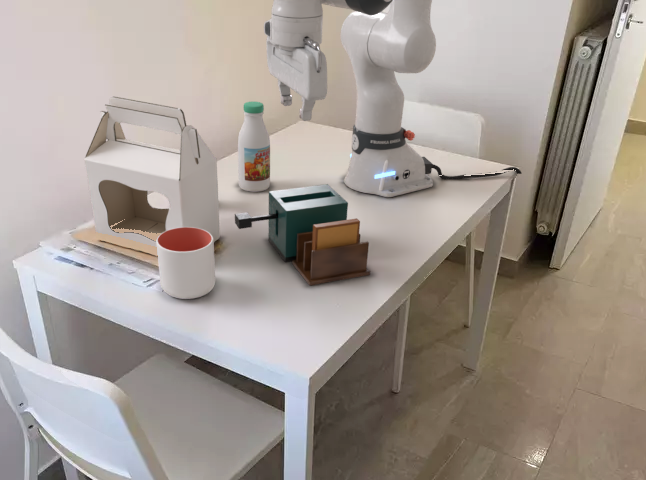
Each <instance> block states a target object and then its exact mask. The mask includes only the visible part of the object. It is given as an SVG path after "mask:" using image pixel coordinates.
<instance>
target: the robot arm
mask: <svg viewBox="0 0 646 480" xmlns="http://www.w3.org/2000/svg"><path fill="white" fill-rule="evenodd" d="M432 3H433V0H273V2H272V7H271V18H270V19H268V20H265V21H264V23H263V34H264V35H265V36H266V40H265V41H266V42H265V45H266V48H265V49H266V60H267V69H268V72H269V74H270V75H271V76H273V77H274V78H275V79H276V80H277V86H278V91H279V94H280V104H281V105H283V106H284V107H289V106H292V104H293V95H292V94H291V90H292V91H294V92H295V93H296V94H297V95H299V96H300V97H301V102H302V103H301V108H299V118H300V119H301V120H302V121H303V122H309V121H311V120H312V117H313V109H314V107H315V104H316V102H317V101H323V100H325V99H326V97H327V95H328V64H327V57H326V54H325V53H324V52H323V51H322V50H321V46H320V45H321V44H322V42H323V25H324V24H323V23H324V10H323V5H325V6H330V7H334V8H339V9H346V10H352V11H351V12H350V13H349V14H348V15H347V16H346V18H345V19H344V21H343V22H342V25H341V29H340V43H341V45H342V48H343V49H344V51H345V52H346V54H347V56H348V58H349V61H350V64H351V67H352V68H351V69H352V72H353V77H354V82H355V88H356V104H355V105H356V106H355V121H354V124H353V125H352V135H351V153H350V154H349V157H350V160H349V164H348V168H347V171H346V174H345V177H344V179H343V183H344V184H345V185H346V187H348V188H350V189H352V190H354V191H356V192H360V193H364V194H372V195H376V196H381V197H384V198H392V197H397V196H400V195H405V194H409V193H412V192H417V191H422V190H425V189H429V188H432V187H433V186H434V180H433V178H432V177H431V176H430V175H431V174H432V171H433V169H434V170H436V172H437V175H438V177H439V178H440V179H442V180H451V181H452V180H453V181H455V180H463V179H476V178H478V179H479V178H489V177H496V176H500V175H502V174H506V172H504V173H495V174H485V175H471V176H464V175H465V174H459V175H453V176H452V175H451V176H450V175H445V174H443V172H442V168H441V167H440V166H438V165H436V164H433V162H431V161H430V160H429V159H428V158H427V157H426V156H421V155H420V153H418V152H417V151H416V150H415V149H414V148H413V147H412V146H411V145H409V144H408V143H407V141H406V139H407V140H408V141H409V142H411V141H413V140H414V139H415V137H416V134H415V133H414V131H411V130H410V129H408V130H407V129H406V128H404V127H402V123H403V114H404V105H405V94H404V91H403V89H402V88H401V86H400V84H399V83H398V80H397V77H396V74H395V73H398V74H419V73H421V72H423V71H425V70H426V69H427V68H428V67H429V65H430V64H431V63H432V61H433V59H434V57H435V55H436V49H437V39H436V35H435V33H434V31H433V28H432V23H431V9H432ZM388 6H389V9H388V12H385V11H384V10H386V9H387V7H388ZM513 169H514V171H513V172H515V173H516V174H517V175H521V174H522V171H521V170H520V169H519V168H518V167H516V166H509V167H506V168H503V169H502V170H513ZM515 170H516V171H515ZM442 174H443V175H442ZM439 175H442V176H439Z"/></svg>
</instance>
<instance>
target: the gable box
mask: <svg viewBox="0 0 646 480" xmlns="http://www.w3.org/2000/svg"><path fill="white" fill-rule="evenodd" d="M104 106H105V109H106V110H107V111H105V110H101V111H99V112H100V113H99V114H100V120H99V123H98V125H97V128H96V130H95V133H94V135H93V138H92V140H91V142H90V145H89V146H88V150H87V152H86V154H85V157H84V159H83V160H84V168H85V173H86V179H87V185H88V190H89V192H88V193H89V197H90V198H89V199H90V204H91V211H92V216H93V217H92V218H93V223H94V230H95V233H96V232H98V233H102V234H108V235H112V236H116V237H121V238H125V239H129V240H133V241H136V242H140V243H143V244H147V245H151V246H155V247H157V246H156V241H154V240H152V239H150V238H148V237H146V236H144V235H142V234H139V233H134V232H124V233H119V232H115V231H114V230H112V229H116V228H117V229H118V228H119V229H121V228H122V229H123V228H124V229H129V230H130V229H132V230H134V229H135V230H141V231H143V232H145V231H146V232H149V233H151V232H152V233H156V234H157V233H163V232H165V231H167V230H170V229H174V228H179V227H194V228H200V229H203V230H206V231H207V232H209V233H210V234H211V235H212V236H213V242H214V243H215V242H217V240H220V237H221V230H220V229H221V228H220V227H221V226H220V207H219V206H220V205H219V204H220V203H219V186H218V185H219V184H218V181H219V180H218V161H217V159H218V158H217V157H216V156H215V154H214V152H213V151H212V150H211V149H210V147H209V146H208V145H207V143H206V142H205V140H204V139H203V138H202V136H201V135H200V133H199V132H198V130H197V128H195V127H194V126H193V125H192V124H187V121H186V117H185V113H184V111H183V109H182V108H179V107H176V106H175V107H174V106H168V105H163V104H157V103H152V102H146V101H142V100H141V101H140V100H135V99H132V98H131V99H130V98H125V97H120V96H119V97H118V96H112V97H110V98H109V99H108V104H104ZM121 124H126V125H131V126H135V127H141V128H142V127H143V128H146V129H152V130H157V131H162V132H167V133H173V134H175V135H180V149H177V148H173V147H168V146H167V147H166V146H162V145H158V144H152V143H147V142H142V141H138V140H132V139H128V138H126V136H125V133H124V131H123V127H122V125H121ZM148 192H154V193H157V194H160V195H161V196H164V197H165V198H166V199H167V201H168V203H169V206H168V207H169V208H157V207H154V206H152V205H151V204H150V203H149V200H148ZM124 219H125V220H124ZM122 220H123V221H122ZM120 221H122V222H120ZM118 222H120V223H118ZM115 223H118V224H117V225H115V226H113V227H112V229H111V227H110V226H111V225H114V224H115Z"/></svg>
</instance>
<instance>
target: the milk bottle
mask: <svg viewBox="0 0 646 480" xmlns="http://www.w3.org/2000/svg"><path fill="white" fill-rule="evenodd" d="M264 106H265V105H264V104H263V102H260V101H246V102H245V103H243V115H244V119H243V122H242V125H241V128H240V130H239V133H238V137H237V173H238V175H237V178H238V180H237V181H238V186H239V188H240V190H244V191H245V192H263V191H266V190H268V189H269V188H270V186H271V139H270V134H269V131H268V129H267V127H266V124H265V121H264V111H265V107H264Z"/></svg>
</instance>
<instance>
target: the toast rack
mask: <svg viewBox="0 0 646 480" xmlns="http://www.w3.org/2000/svg"><path fill="white" fill-rule="evenodd" d="M312 238H313V231H312V232H305V233H299V234H297V256H296V260H292V261H291V264H292V265H293V267H294V268H295V269H296V270H297V272H298V273H299V274H300V275H301V277H302V278H303V279H304V280H305V281H306V283H307V284H308V286H315V285H321V284H325V283H326V284H327V283H332V282H337V281H338V282H339V281H343V280H349V279H354V278H360V277H365V276H370V275H371V270H370V269H369V268H368V258H369V257H368V256H369V246H370V242H369V241H368V240H367V241H361V233H360V232H359V239H358V243H355V244H348V245H342V246H336V247H330V248H323V249H317V250H312Z"/></svg>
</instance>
